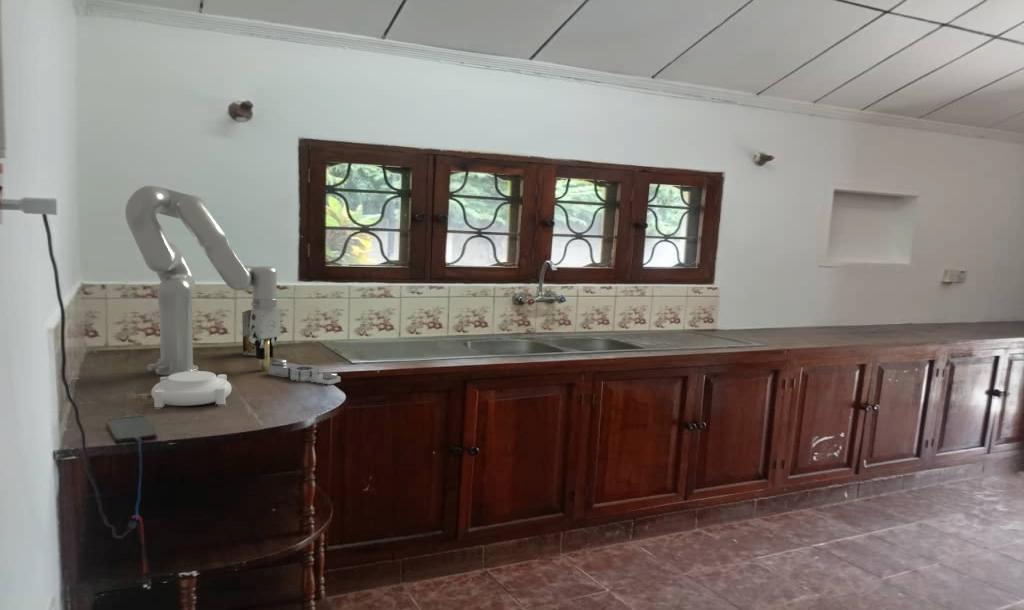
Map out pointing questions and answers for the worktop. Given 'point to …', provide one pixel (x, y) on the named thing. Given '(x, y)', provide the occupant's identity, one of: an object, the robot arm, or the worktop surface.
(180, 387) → the round stand with pegs
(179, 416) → the worktop surface
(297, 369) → the link
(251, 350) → the coffee box
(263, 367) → the pin
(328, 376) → the link
